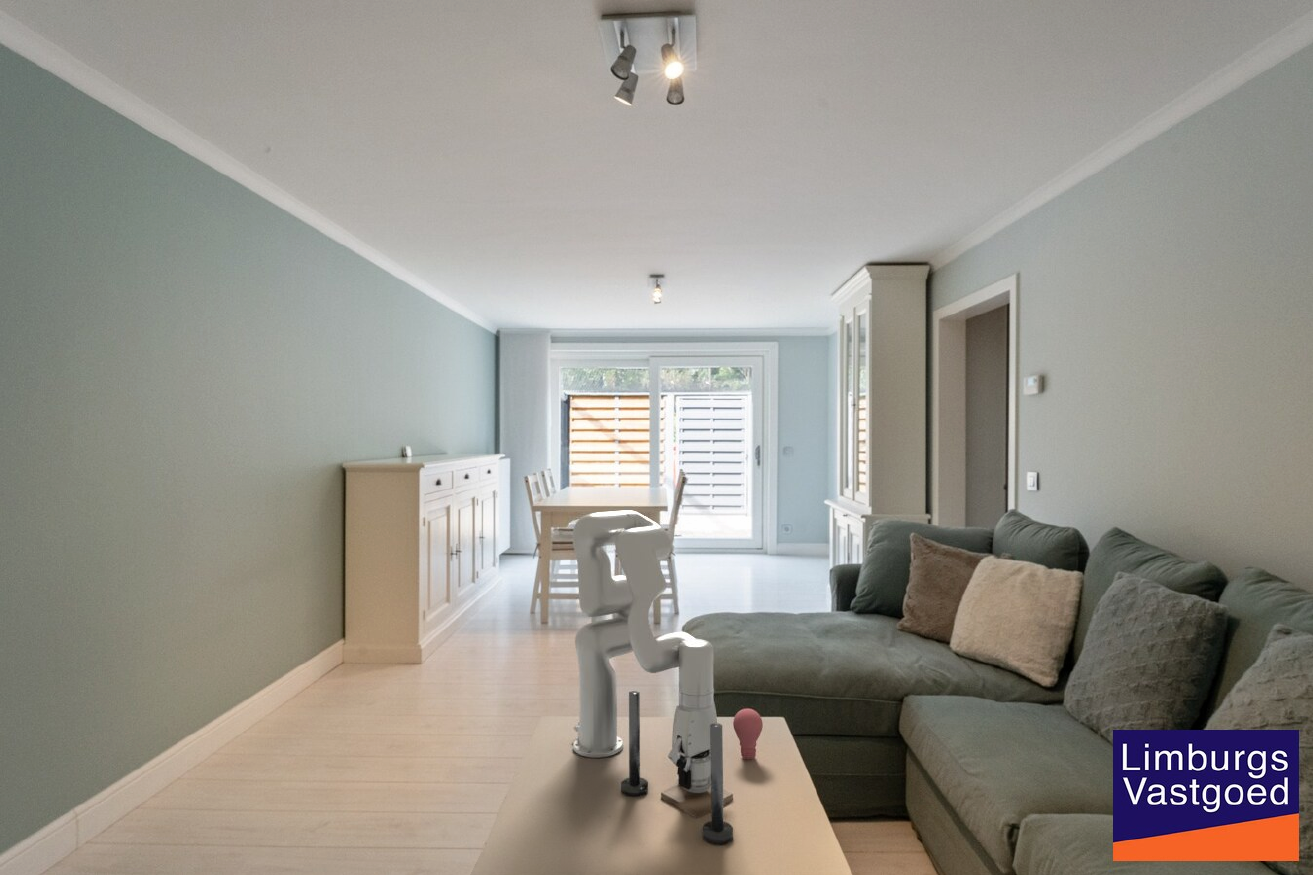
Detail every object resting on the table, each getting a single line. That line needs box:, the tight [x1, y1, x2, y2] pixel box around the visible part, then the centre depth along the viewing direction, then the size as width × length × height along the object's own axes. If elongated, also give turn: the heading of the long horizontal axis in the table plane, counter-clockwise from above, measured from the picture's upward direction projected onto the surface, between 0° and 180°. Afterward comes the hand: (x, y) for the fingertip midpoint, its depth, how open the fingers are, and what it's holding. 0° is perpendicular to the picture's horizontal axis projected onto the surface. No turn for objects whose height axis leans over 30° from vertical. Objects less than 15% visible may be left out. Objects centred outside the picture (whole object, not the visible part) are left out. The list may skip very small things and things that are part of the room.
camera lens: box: [683, 750, 711, 793], centre depth 151 cm, size 6×6×8 cm
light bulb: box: [732, 708, 764, 760], centre depth 170 cm, size 7×7×12 cm
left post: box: [620, 690, 649, 798], centre depth 155 cm, size 6×6×22 cm
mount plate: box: [660, 783, 734, 818], centre depth 151 cm, size 11×11×1 cm
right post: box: [701, 722, 734, 846], centre depth 136 cm, size 6×6×22 cm
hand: (696, 780), depth 151 cm, fingers closed on camera lens, 6 cm apart
